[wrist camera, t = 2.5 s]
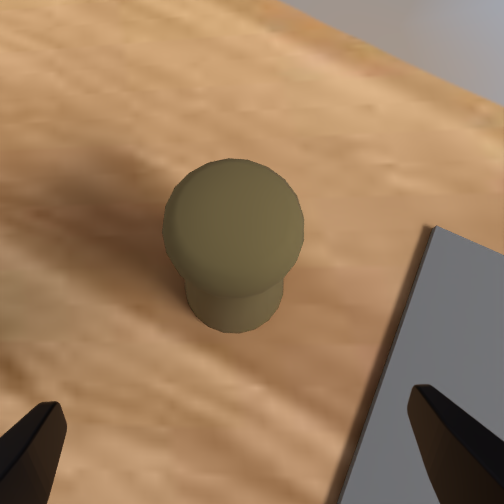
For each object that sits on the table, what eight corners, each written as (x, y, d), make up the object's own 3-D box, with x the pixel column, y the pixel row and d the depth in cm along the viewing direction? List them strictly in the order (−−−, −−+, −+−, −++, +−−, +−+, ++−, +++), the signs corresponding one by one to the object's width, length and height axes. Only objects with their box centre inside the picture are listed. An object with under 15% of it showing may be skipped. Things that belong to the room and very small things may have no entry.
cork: (187, 338, 21) (141, 310, 11) (182, 241, 23) (138, 136, 13) (290, 328, 22) (340, 290, 11) (277, 232, 24) (310, 124, 13)
